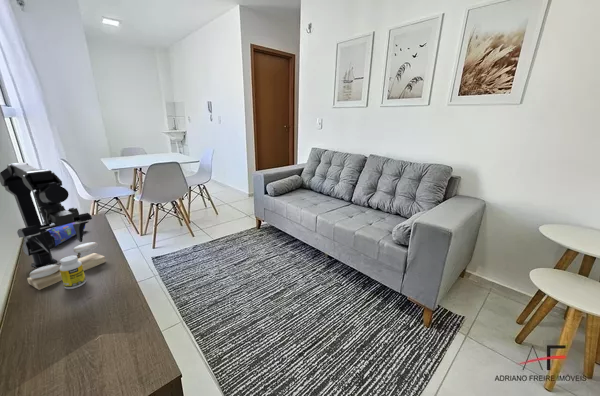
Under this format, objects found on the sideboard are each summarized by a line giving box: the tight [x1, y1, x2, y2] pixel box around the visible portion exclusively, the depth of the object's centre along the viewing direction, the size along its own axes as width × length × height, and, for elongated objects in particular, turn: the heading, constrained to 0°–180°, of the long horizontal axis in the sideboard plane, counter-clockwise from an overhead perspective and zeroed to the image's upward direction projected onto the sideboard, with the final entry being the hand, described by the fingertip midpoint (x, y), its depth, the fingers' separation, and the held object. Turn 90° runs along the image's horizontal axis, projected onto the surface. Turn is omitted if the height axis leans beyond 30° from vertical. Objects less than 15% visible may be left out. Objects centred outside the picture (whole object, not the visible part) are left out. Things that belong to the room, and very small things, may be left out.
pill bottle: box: [59, 255, 87, 290], centre depth 92 cm, size 6×6×11 cm
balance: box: [27, 241, 107, 291], centre depth 101 cm, size 8×22×8 cm, turn 155°
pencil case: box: [47, 222, 86, 247], centre depth 131 cm, size 22×9×10 cm, turn 11°
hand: (65, 246), depth 90 cm, fingers open, 9 cm apart
